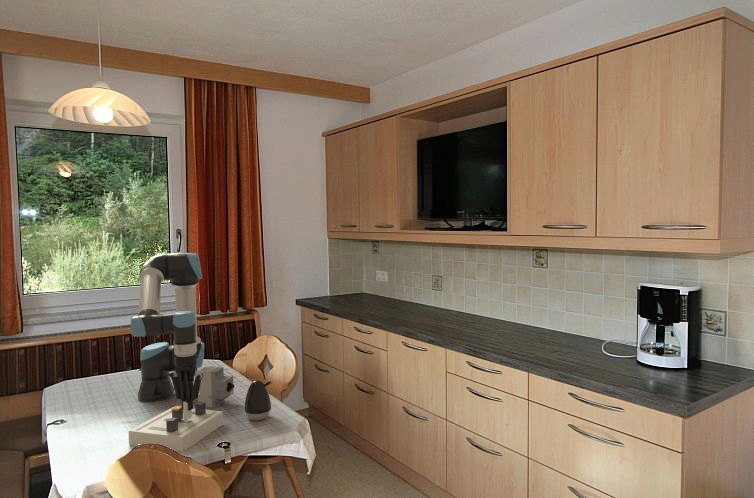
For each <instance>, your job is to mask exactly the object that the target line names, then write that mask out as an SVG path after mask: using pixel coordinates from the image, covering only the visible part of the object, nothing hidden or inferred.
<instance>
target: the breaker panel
mask: <svg viewBox="0 0 754 498" xmlns="http://www.w3.org/2000/svg"><path fill="white" fill-rule="evenodd" d="M174 407H175V406H173V407H171V408H169V409H167V410H165V411H164V412H162V413H159V414H157V415H155V416H154V417H151V418H150V419H148V420H146V421H144V422H142V423H141V424H138V425H137V426H134V427H133V428H131V429H129V430H128V445H129V444H130V445H129V446H135V445H138V444H146V443H155V444H161V445H164V446H167V447H169V448H171V449H173V450H174V451H175V452H182V453H183V452H184V451H186V450H188V449H189V448H191V447H192V446H193V445H195V444H197V442H199V441H201V440H203V439H204V438H205V437H207V436H208V435H210V434H212V433H213V432H214V431H216V430H217V429H219V428H220V427H222V426H223V425H224V411H223V410H221V411H219V410H211V409H206V408H207V407H206V404H205V402H199V403H198V402H197V403H195V404H194V408H193V409H192V418H190V419H188V420H184V410H183V419H181V420H180V421H178V418H174V417H172V408H174ZM173 450H172V451H173Z"/></svg>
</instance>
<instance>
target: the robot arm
mask: <svg viewBox="0 0 754 498" xmlns="http://www.w3.org/2000/svg"><path fill="white" fill-rule="evenodd" d="M201 279H202V280H203V273H202V267H201V262H200V257H199V254H198V253H196V252H175V253H173V252H172V253H159V254H156V255H154V256H152V257H151V258H149V259H148V260H147V261H145V262H144V264H143V265H142V266H141V268H140V270H139V273H138V281H139V283H140V290H139V298H138V299H139V301H138V310H137V312H138V313H137V315H135V316H132V317H131V319H130V333H131V334H130V335H132V337H135V338H137V337H143V338H144V337H151V336H152V337H153V336H162V335H173V344H172V345H170V344H169V342H167V341H164V342H163V341H162V342H156V343H151V344H149V345H146V346H144V347H143V348H142V349H141V350H140V359H139V360H140V370H141V371H140V374H141V375H140V376H141V377H140V378H141V380H140V381H141V382H140V385H139V389H138V392H137V400H138V401H140V402H146V403H150V402H159V401H164V400H167V399H170V398H172V397H173V396H174V395H175V399H176V400H180V401H181V406H182V410H184V420H188V419H190V418H192V409H194V401H195V400H198V395H199V394H200V393H199V389H200V384H201V379H202V377H203V374H202V373H201V374H200V373H199V372H198V371H199V370H198V369H200V368H202V367H203V363H204V356H205V343H204V342H203V341H202V339H201V338H200V337H199V336H198V325H197V322H198V321H197V319H198V318H197V292H196V291H197V290H196V287H197V286H198V284H199V283H200V280H201ZM164 281H170V284H171V286H172V287H174V294H175V295H174V296H175V297H174V299H175V312H174V313H167V314H166V313H165V314H161V292H162V291H161V289H162V283H163V282H164Z"/></svg>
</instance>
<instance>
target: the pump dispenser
mask: <svg viewBox="0 0 754 498" xmlns="http://www.w3.org/2000/svg"><path fill="white" fill-rule="evenodd" d="M270 384H272V382H271V380H269V381H266V382H263V381H262V380H261V379H256V380H253V381H252V382H250V385H249V387H248V389H247V392H246V396H245V400H244V412H245V414H246V417H247V418H249V420H250V421H255V422H257V421H263V420H264V419H267V417H268V416H269V415H270V412H271V409H272V401H271V396H270V393H269V391H268V388H267V387H268V386H269V385H270Z"/></svg>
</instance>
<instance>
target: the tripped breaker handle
mask: <svg viewBox="0 0 754 498" xmlns="http://www.w3.org/2000/svg"><path fill="white" fill-rule="evenodd" d="M173 407H174V408H173ZM173 407H171V408H172V417H174V418H178V421H180V420H181V419H183V410H182V405H175V406H173Z"/></svg>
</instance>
